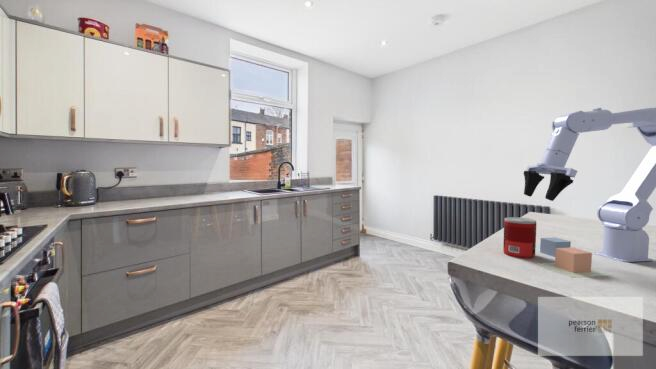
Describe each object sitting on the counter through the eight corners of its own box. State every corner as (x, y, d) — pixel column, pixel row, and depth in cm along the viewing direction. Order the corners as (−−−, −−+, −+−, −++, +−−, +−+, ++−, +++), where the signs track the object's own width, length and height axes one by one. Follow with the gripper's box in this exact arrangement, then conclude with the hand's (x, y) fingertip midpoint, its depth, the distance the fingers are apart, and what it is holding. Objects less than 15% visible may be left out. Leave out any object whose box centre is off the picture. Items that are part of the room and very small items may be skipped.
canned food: (540, 260, 82) (541, 222, 81) (509, 258, 83) (510, 221, 83) (527, 252, 89) (528, 217, 89) (499, 251, 91) (500, 216, 90)
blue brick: (554, 252, 90) (555, 237, 89) (569, 257, 85) (570, 241, 84) (540, 253, 89) (540, 237, 89) (554, 258, 84) (555, 242, 84)
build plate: (572, 262, 80) (572, 261, 80) (612, 276, 70) (612, 275, 70) (536, 264, 78) (536, 263, 78) (572, 278, 68) (572, 277, 68)
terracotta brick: (571, 265, 77) (572, 247, 77) (590, 271, 72) (591, 252, 72) (554, 266, 76) (555, 248, 76) (573, 272, 71) (573, 253, 71)
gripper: (525, 148, 89) (508, 189, 90) (569, 148, 75) (548, 196, 76) (544, 156, 91) (526, 196, 91) (591, 158, 76) (569, 205, 77)
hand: (537, 197), depth 84 cm, fingers open, 7 cm apart
